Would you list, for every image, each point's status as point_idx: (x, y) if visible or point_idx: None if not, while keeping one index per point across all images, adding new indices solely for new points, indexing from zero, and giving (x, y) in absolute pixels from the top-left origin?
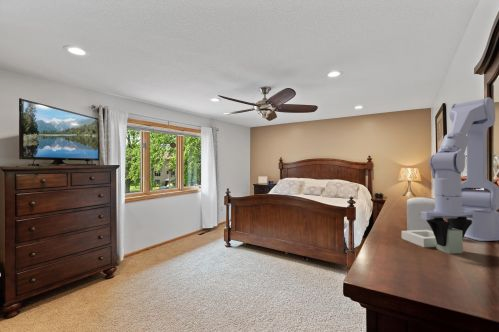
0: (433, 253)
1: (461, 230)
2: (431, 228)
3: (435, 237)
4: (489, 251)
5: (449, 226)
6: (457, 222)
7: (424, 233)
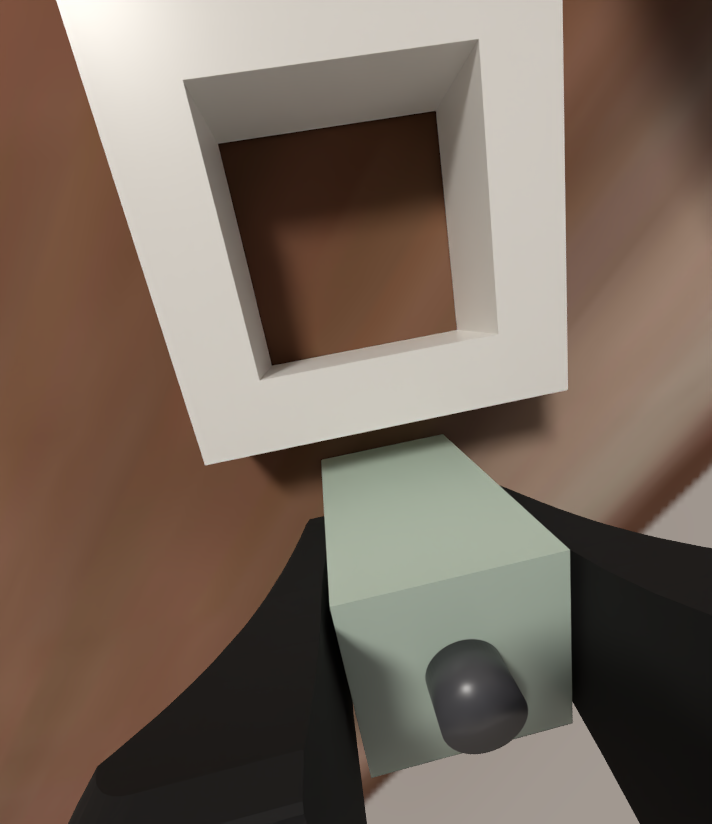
0: (228, 573)
1: (565, 721)
2: (235, 639)
3: (294, 555)
4: (664, 485)
5: (477, 742)
6: (675, 792)
7: (428, 69)
